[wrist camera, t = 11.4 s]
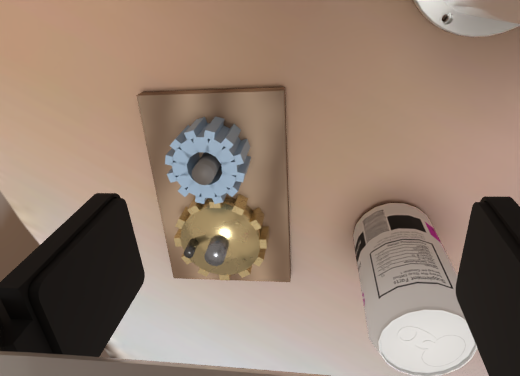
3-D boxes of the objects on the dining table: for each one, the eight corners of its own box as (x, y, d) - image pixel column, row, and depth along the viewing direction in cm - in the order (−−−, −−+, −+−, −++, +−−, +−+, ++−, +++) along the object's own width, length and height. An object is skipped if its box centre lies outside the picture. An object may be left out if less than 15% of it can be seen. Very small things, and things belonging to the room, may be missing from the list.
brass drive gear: (266, 190, 40) (260, 215, 35) (271, 266, 44) (266, 297, 40) (174, 190, 41) (158, 214, 37) (188, 264, 46) (174, 294, 41)
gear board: (284, 87, 36) (279, 105, 31) (290, 273, 46) (287, 314, 40) (142, 91, 38) (112, 110, 32) (177, 270, 48) (159, 308, 42)
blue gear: (247, 115, 36) (240, 129, 33) (253, 185, 40) (247, 204, 36) (173, 117, 37) (158, 131, 34) (184, 185, 41) (172, 203, 37)
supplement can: (448, 221, 41) (513, 334, 27) (399, 274, 44) (436, 395, 31) (381, 186, 40) (416, 285, 26) (338, 243, 43) (348, 354, 30)
